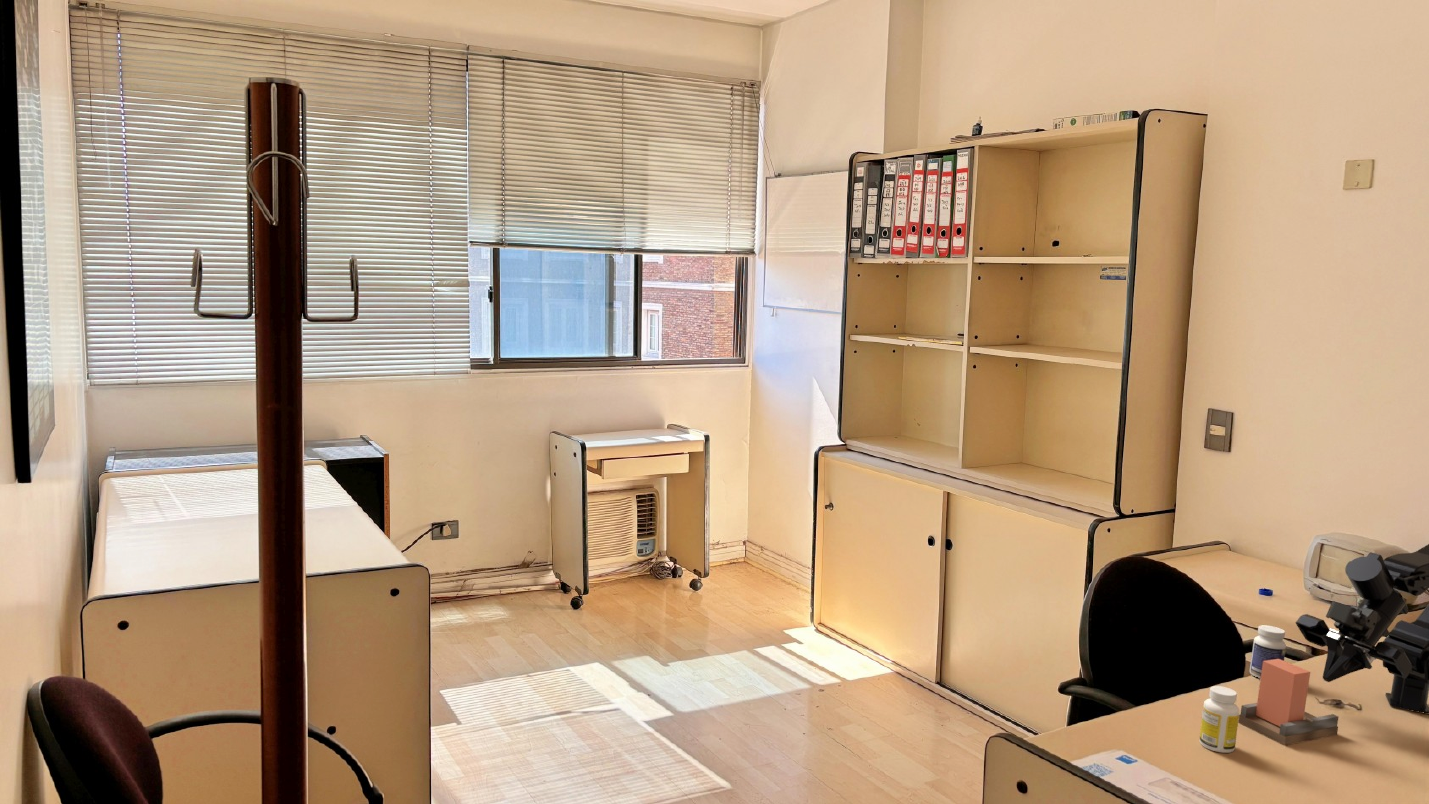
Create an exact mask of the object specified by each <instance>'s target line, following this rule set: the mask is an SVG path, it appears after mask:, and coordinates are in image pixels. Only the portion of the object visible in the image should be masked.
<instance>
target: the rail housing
mask: <svg viewBox="0 0 1429 804" xmlns="http://www.w3.org/2000/svg"><path fill="white" fill-rule="evenodd" d="M1256 708H1257V702H1254V703H1249V704H1242V705H1241V709H1240V713H1239V719H1238V724H1240V725H1242V726H1244V727H1246V728H1248V729H1251V730H1252V731H1255V732H1257V733H1258V734H1261V735H1263V736H1264V737H1266V738H1269V739H1271V740H1273V741H1274V742H1276V743H1278V744H1280V745H1283V746H1288V745H1293V744H1299V743H1303V742H1307V741H1314V740H1318V739H1323V738H1328V737H1333V736H1338V731H1339V730H1338V729H1339V725H1338V723H1339V716H1338V715H1336V714H1333V713H1332V714H1326V715H1321V716H1316V715H1314V714H1310V713H1309V712H1306V711H1305V712H1304V719H1303V720H1299V721H1294V722H1289V723H1284V724H1281V726H1280V727H1279V726H1277V725H1275V724H1273V723H1271V722H1269V721H1267V720H1265V719H1263V718H1261V717H1259V716H1257V715H1256Z"/></svg>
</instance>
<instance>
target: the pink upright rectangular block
mask: <svg viewBox="0 0 1429 804" xmlns="http://www.w3.org/2000/svg"><path fill="white" fill-rule="evenodd" d="M1310 676H1311V671H1310V670H1307V669H1305V668H1302V667H1300V666H1298V665H1294V664H1292V663H1289V662H1288V661H1285V660H1284V661H1283V660H1281V659H1274V660H1267V661H1263V665H1262V673H1261V679H1259V680H1260V681H1259V687H1258V688H1259V689H1258V694H1257V702H1256V703H1257V708H1256V715H1257V716H1259V717H1261V718H1263V719H1265V720H1267V721H1269V722H1271V723H1273V724H1275V725H1277V726H1279V727H1280V726H1281V724H1284V723H1289V722H1294V721H1299V720H1303V719H1304V712H1306V704H1307V697H1308V690H1309V684H1310Z"/></svg>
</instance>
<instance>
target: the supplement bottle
mask: <svg viewBox="0 0 1429 804" xmlns="http://www.w3.org/2000/svg"><path fill="white" fill-rule="evenodd" d="M1237 695H1238V692H1237V691H1236V690H1234V689H1232V688H1229V687H1226V686H1223V685H1222V686H1221V685H1213V686H1211V687H1210V689H1209V698H1207V699H1205V700H1204V702H1203V707H1202V714H1201V715H1202V717H1201V723H1200V724H1201V725H1200V731H1199V732H1200V733H1199V743H1200V744H1201V745H1202V746H1203V747H1204V748H1206V749H1208V750H1210V751H1213V752H1216V753H1223V754H1227V753H1233V752H1234V751H1235V749H1236V742H1237V733H1238V727H1239V725H1238V724H1239V723H1238V721H1239V715H1240V707H1239V706H1238V705H1237V704H1236V701H1237V698H1238V697H1237Z"/></svg>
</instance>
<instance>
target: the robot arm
mask: <svg viewBox="0 0 1429 804" xmlns="http://www.w3.org/2000/svg"><path fill="white" fill-rule="evenodd" d="M1344 569H1345V570H1344V571H1345V574H1346V576H1347V578H1348V580H1349V581H1350V583H1351V586H1353V588H1354V590H1355V591H1356V593H1357V595H1358V596H1359V597H1360V598H1362V600H1361V601H1360V603H1358V605H1357V606H1356V605H1353V604H1352V605H1347V604H1344V603H1341V602H1338V601H1335V600H1332V601H1331V604H1330V606H1329V608H1328V610H1327V612H1326V614H1325V617H1326V618H1327V619H1330V620H1333V621H1334V623H1333V625H1334V627H1335V629H1333V628H1330V627H1328V625H1327V623H1326V622H1325V620H1324V619H1322V618H1319V617H1316V616H1315V615H1314V616H1313V615H1311V614H1308V613H1305V614H1302V615H1300V616H1299V617H1298V618H1297V620H1296V621H1295V624H1296V625H1295V626H1297V628H1298V629H1299V631H1300V633H1301V634H1302V637H1304V639H1305V640H1306V641H1307V642H1308V643H1312V644H1314V645H1316V646H1320V647H1321V648H1322V647H1327V651H1326V652H1327V653H1326V659H1325V664H1324V670H1323V673H1322V679H1323V681H1325V682H1327V683H1331V682H1333V681H1336V680H1338V679H1340V678H1342V677H1344V676H1346V675H1347V676H1348V675H1349V674H1352V673H1355V672H1358V671H1360V670H1364V669H1368V670H1371V669H1372V668H1373V666H1372V664H1373V662H1374V660H1380V661H1382V667H1383V668H1385V669H1387V672H1388V673H1389V674H1391V675H1393V679H1392V684H1391V690H1390V692H1385V697H1386V700H1387V702H1388V705H1389V706H1390V707H1392V708H1396V709H1397V708H1398V709H1403V710H1406V711H1411V710H1413V711H1412V712H1416V711H1419V712H1418V713H1420V712H1424V713H1423V714H1425V713H1429V704H1428V700H1429V603H1428V604H1426V605H1427V606H1426V607H1425V608H1424V610H1422V612H1421V613H1420V614H1419V615H1418V617H1417V618H1416V619H1415V620H1414V621H1412V622H1408V621H1405V620H1403V619H1402V620H1399V621H1397V622H1396V624H1395V625H1394V627H1393V628H1392V630H1390V631H1389V630H1388V629H1389V627H1390V626H1391V625H1392V624H1393V622H1394V621H1395V620H1396V618H1397V616H1398V615H1399V614H1404V615H1407V614H1409V608H1408V607H1409V606H1408V604H1407V598H1404V597H1403V595H1402V594H1401V593H1402V592H1403V593H1405V594H1408V595H1411V596H1414V597H1418V596H1421V595H1422V594H1424V593H1425V592H1426V591H1427V590H1428V589H1429V543H1428V544H1426V545H1425V546H1423V547H1421V548H1420V549H1418V550H1416V551H1413V552H1409V553H1408V552H1407V553H1406V552H1405V553H1404V552H1403V553H1402V552H1401V553H1396V554H1393V555H1390V556H1387V557H1385V558H1383V555H1381V554H1379V553H1375V552H1371V551H1370V552H1368V554H1367V555H1366V556H1365V555H1364V556H1359V557H1356V558H1354V559H1352V560H1349V561H1348V562H1347V564H1346V565H1345V568H1344ZM1336 629H1338V630H1336ZM1382 637H1384V638H1385V639H1383V641H1380V640H1381V638H1382Z"/></svg>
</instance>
